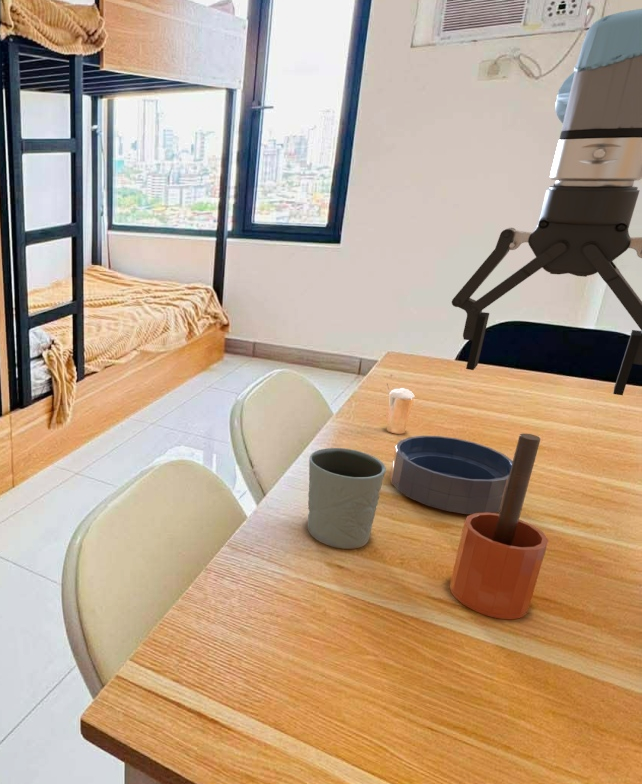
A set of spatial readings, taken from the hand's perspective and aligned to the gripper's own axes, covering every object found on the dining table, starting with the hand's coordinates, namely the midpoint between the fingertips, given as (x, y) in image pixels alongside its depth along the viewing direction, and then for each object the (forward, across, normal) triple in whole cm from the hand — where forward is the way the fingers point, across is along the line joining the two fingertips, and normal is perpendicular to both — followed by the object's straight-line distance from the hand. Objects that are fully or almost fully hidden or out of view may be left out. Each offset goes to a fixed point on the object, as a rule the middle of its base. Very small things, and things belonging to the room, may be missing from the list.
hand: (540, 378), depth 72 cm
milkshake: (+29, -24, +49) cm, 61 cm away
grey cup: (+29, -19, +2) cm, 35 cm away
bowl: (+29, -10, +27) cm, 41 cm away
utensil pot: (+29, +1, -1) cm, 29 cm away
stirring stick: (+29, +1, -1) cm, 29 cm away
